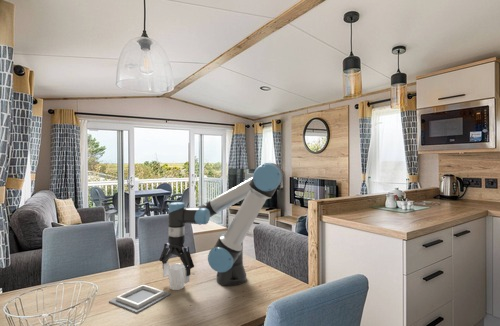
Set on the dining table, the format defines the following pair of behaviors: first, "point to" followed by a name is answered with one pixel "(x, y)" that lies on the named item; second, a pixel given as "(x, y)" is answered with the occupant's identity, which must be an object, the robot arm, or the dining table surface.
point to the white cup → (176, 276)
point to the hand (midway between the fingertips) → (176, 279)
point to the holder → (139, 298)
